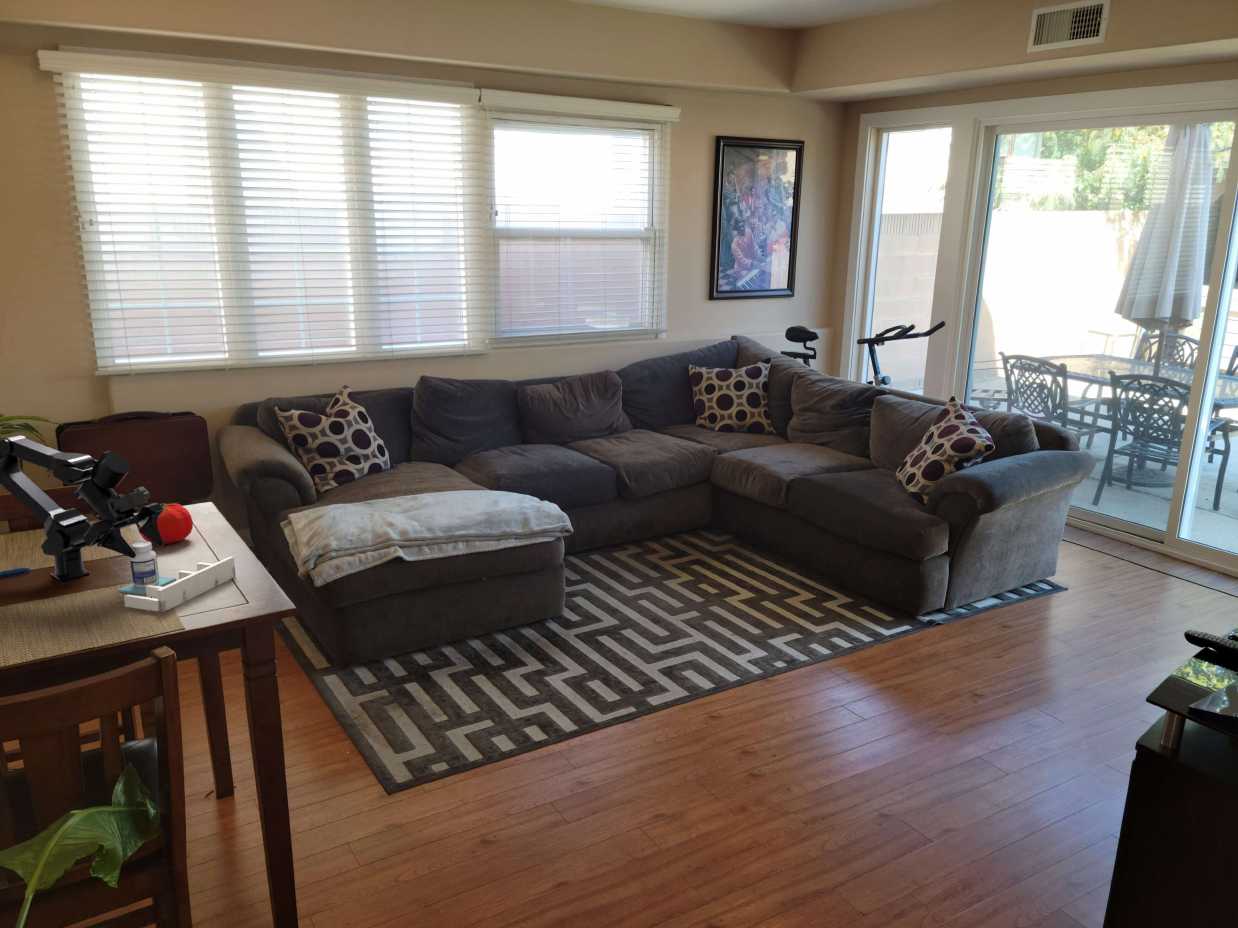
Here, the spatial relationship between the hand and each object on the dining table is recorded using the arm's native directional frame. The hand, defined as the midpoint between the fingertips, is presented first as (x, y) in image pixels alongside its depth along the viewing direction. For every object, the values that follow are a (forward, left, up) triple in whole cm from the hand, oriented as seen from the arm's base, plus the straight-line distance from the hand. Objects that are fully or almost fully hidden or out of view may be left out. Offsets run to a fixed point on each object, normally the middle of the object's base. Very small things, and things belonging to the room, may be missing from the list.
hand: (148, 551), depth 205 cm
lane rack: (+8, +3, -9) cm, 12 cm away
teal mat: (-1, -1, -9) cm, 9 cm away
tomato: (-30, +16, -9) cm, 35 cm away
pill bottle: (-1, -1, -8) cm, 8 cm away
